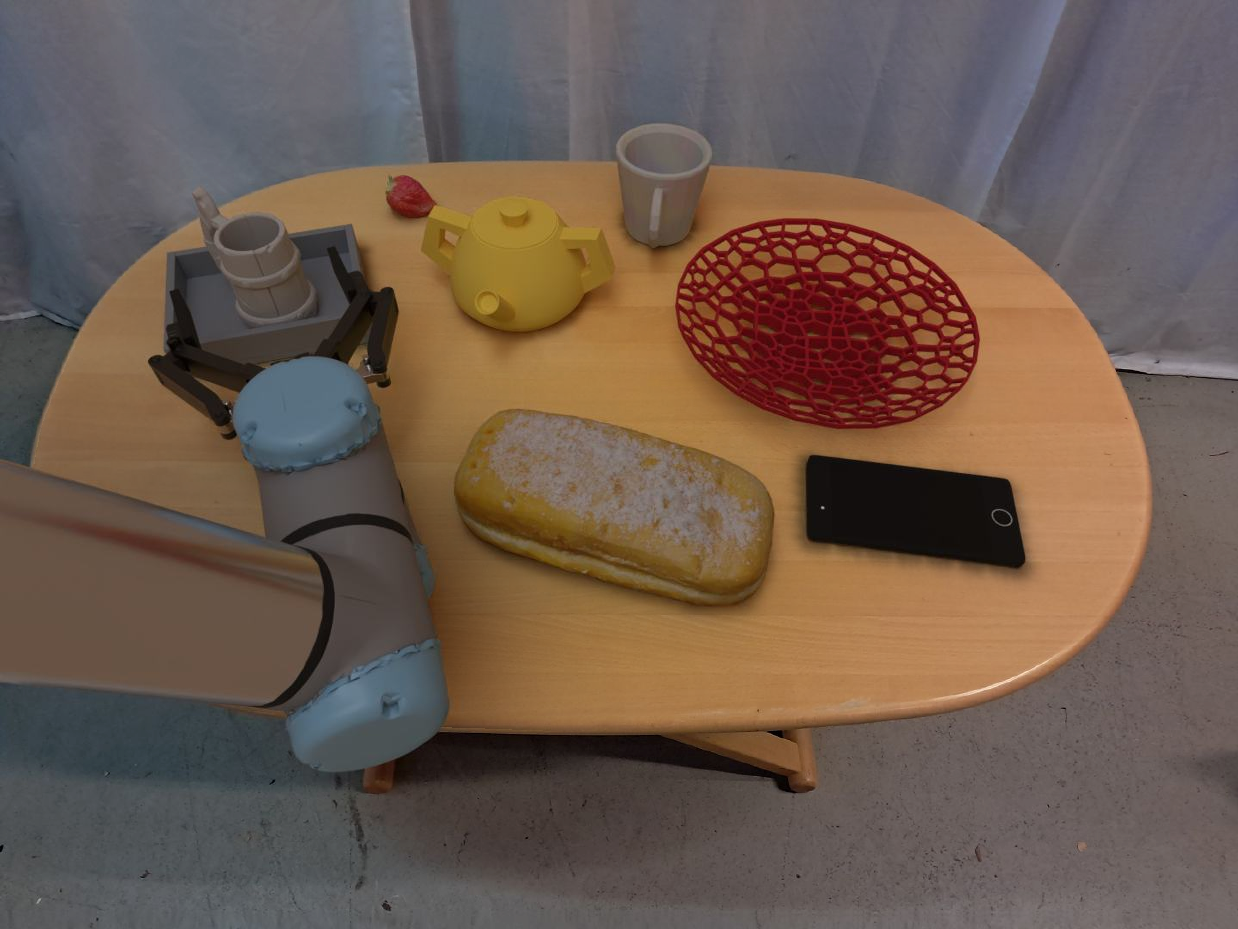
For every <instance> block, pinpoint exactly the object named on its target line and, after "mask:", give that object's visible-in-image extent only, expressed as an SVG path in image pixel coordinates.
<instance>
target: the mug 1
mask: <svg viewBox="0 0 1238 929" xmlns="http://www.w3.org/2000/svg"><path fill="white" fill-rule="evenodd" d="M191 195H192V198H193V199H194V202H195V204H196V207H197V212H198V217H199V224H200V227H201V231H202V235H203V237H204V238H203V242H204V244H205V247H207V249H208V251H209V253H210V254H211V256H212V258H213V260H214V261H215V263H216V265H217V267H218V268H219V270H220V271H221V272H222V274H223V275H224V276H225V277H226V279H227V280H229V282H230V284H231V287H232V289H233V291H234V293H235V296H236V305H235V307H236V310H237V312H238V314H239V316H240V317H241V319H242V320H243V321H244V322H245V323H247V325H248V326H249V327H250V329H253V328H259V327H264V326H270V325H276V324H281V323H287V322H292V321H298V320H304V319H309V318H314V317H315V316H316V311H317V304H316V302H317V292H316V289H315V288H314V286H313V284H312V283H311V282H310V281H309V280H308V279H307V278H306V276H305V274H304V271H303V269H302V266H301V264H300V257H301V254H300V252H299V250H298V248H297V247H296V245H295V244H294V243H293V242H292V241H291V239H290V237H289V235H288V234H289V232H288V230H287V227H286V225H285V223H284V222H283V220H281V219H280V218H278V217H277V216H276V215H274V214H271V213H268V212H260V211H259V212H257V211H256V212H255V211H254V212H247V213H246V214H244V213H241V214H238V215H234V216H232V217H230V218H228V217H226V216H224V215H223V214H221V212H220V210H219V208H218V207H217V205H216V203H215V201H214V199H213V198H212V196H211V195H210V193H209V192H208V191H207V190H206V189H205V188H204V187H203V186H201V185H200V186H198V187H196V188H195V189H193V190H192V191H191Z"/></svg>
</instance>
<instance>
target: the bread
mask: <svg viewBox="0 0 1238 929" xmlns="http://www.w3.org/2000/svg"><path fill="white" fill-rule="evenodd" d="M453 482H454V483H453V496H454V502H455V505H456V508H457V511H458V513H459V515H460V517H461V520H462V521H463V523H464V524H465V525H466V526H467V528H469V529H470V531H472V533H474V534H475V535H476V536H477V537H479V538H481V539H482V540H483V541H485V542H487V543H489V544H491V545H492V546H494V547H495V546H496V547H497V548H500V549H502V550H504V551H506V552H510V553H513V554H516V555H520V556H522V557H524V558H529V559H534V560H536V561H538V562H539V563H542V564H546V565H549V566H550V567H553V568H558V569H561V570H565V571H568V572H573V573H575V574H580V575H584V576H587V577H592V578H595V579H598V580H600V581H602V582H605V583H609V584H613V585H616V586H620V587H623V588H626V589H629V590H637V591H640V592H642V593H646V594H647V593H648V594H651V595H655V596H659V597H662V598H668V599H673V600H675V601H684V602H687V603H690V604H693V605H699V606H705V607H710V608H712V607H713V608H715V607H716V608H717V607H731V606H735V605H739V604H740V603H742V602H744V601H745V600H746V599H748V598H750V597H751V596H753V595H754V594H755V593H756V592H757V591H758V590H759V588H760V587H761V586H762V584H763V582H764V579H765V577H766V573H767V572H768V564H769V557H770V552H771V549H772V545H773V536H774V523H775V517H776V516H775V507H774V504H773V503H774V502H773V498H772V496H771V494H770V492H769V490H768V489H767V487H766V485H765V483H763V481H761V480H760V479H759V478H758V477H757V476H756V475H754V474H753V473H751V472H749V471H748V470H746V469H745V468H743V467H741V466H739V465H737V464H735V463H733V462H731V461H730V460H726V459H725V458H724V457H720V456H718V455H716V454H712V453H710V452H708V451H705V450H701V449H698V448H696V447H692V446H687V445H683V444H680V443H677V442H674V441H670V440H666V439H663V438H660V437H656V436H653V435H650V434H647V433H644V432H641V431H638V430H636V429H635V430H634V429H632V428H631V427H630V428H628V427H624V426H619V425H617V424H612V423H609V422H603V421H598V420H594V419H592V418H591V419H590V418H587V417H586V418H585V417H581V416H577V415H569V414H561V413H553V412H548V411H541V410H535V409H524V408H508V409H504V410H499V411H497V412H496V413H494V414H493V415H491V416H490V417H489V418H488V419H487V420H486V421H485V422H483V423H482V424H481V425H480V426H479V427H478V429H477V431H476V432H475V434H474V435H473V437H472V438H471V439H470V442H469V445H468V447H467V449H466V451H465V454H464V456H463V457H462V460H461V462H460V463H459V465H458V468H457V470H456V472H455V474H454V481H453Z"/></svg>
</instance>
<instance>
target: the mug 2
mask: <svg viewBox="0 0 1238 929" xmlns="http://www.w3.org/2000/svg"><path fill="white" fill-rule="evenodd" d="M713 156H714V155H713V150H712V145H711V144H710V142H709V141H708V140H707V138H705V136H703V135H702V134H700V133H698V132H697V131H695V130H694V129H691V128H688V127H686V126H683V125H678V124H674V123H673V124H672V123H662V122H661V123H658V122H657V123H656V122H655V123H654V122H653V123H648V124H642V125H638V126H636V127H633V128H631V129H628V130H627V131H626V132H625V133H623V134H622V135H621V136H620V137H619V139H618V140H617V143H616V146H615V157H616V165H617V173H618V181H619V187H620V195H621V203H622V211H623V218H624V225H625V229H626V231H627V232H628V234H629V236H630V237H632V238H633V239H634V240H635V241H638V242H639V243H641V244H644V245H648V246H649V247H650V248H652V249H655V248H657V247H667V246H673V245H676V244H677V243H680V242H682V241H683V240H685V238H686V237H687V236H688V235H689V233H690V231H691V229H692V225H693V222H694V219H695V215H696V213H697V208H698V206H699V203H700V199H701V195H702V193H703V189H704V185H705V183H706V179H707V177H708V173H709V170H710V167H711V163H712V160H713Z"/></svg>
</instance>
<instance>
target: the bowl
mask: <svg viewBox="0 0 1238 929" xmlns="http://www.w3.org/2000/svg"><path fill="white" fill-rule="evenodd" d="M779 226H781V227H780V228H781V229H780V230H775V231H768V230H767V229H766V228H772V227H779ZM786 226H806V227H805V228H806V229H805V230H802V231H798V232H793V231H788V230H786ZM811 226H818V227H822V229H823V231H824V232H825V233H826V235H825V236H823V235H818V234H815V233H814V232H813V231H811V230H810V229H811ZM832 229H835V230H842V231H843V233H841V232H837V231H833V230H832ZM756 230H759V231H760V233H761V235H759V236H758V237H754V236H753V237H752V236H744V235H743V234H744V233H748V232H751V231H756ZM849 233H854V234H858V235H860V236H864V237H868V238H871V239H870V242H861V241H857V240H855V239H853V238H852V237H850V236H848V234H849ZM735 236H736V238H737V239H736V240H734V239H733V237H735ZM805 237H808V238H805ZM772 239H773V240H772ZM774 239H778V240H774ZM786 239H790V240H795V241H796V242H795V243H794V244H793V243H790V242H789V241H787V240H786ZM876 240H877V241H879V242H881V243H883V244H886V245H888V246H890V247H892V248H894V250H893V251H885V250H881V249H879V247H877V246H875V245H874V244H875V241H876ZM725 241H726V242H727V243H728V245H729V246H730V247H729V248H728V250H717V249H716V247H717V246H719V245H722V243H724V242H725ZM764 241H765V243H766V244H765V245H764V244H761V243H762V242H764ZM842 242H843V243H846V244H849V245H850V246H853V247H854V249H855V250H853V251H851V252H849V253H848V252H846V251H844V250H842V249H840V248H839V247H838V245H839V244H841V243H842ZM740 244H747V245H754V246H755V247H754V248H753V249H752V250H744V249H742V248H741V247H740V246H739V245H740ZM824 245H830V246H831V247H832V248H827V249H825V247H824ZM780 246H781V247H783V248H784V249H786V250H787V251H789V252H790V254H791V256H785V255H784V256H783V255H778V254H777V252H776V251H775V250H774V249H776V248H778V247H780ZM809 246H810V247H813V248H816V249H817V250H818V251H819V253H818V254H817V255H816V256H815V257H814V258H813V259H806V258H799V257H798V255H797V254H798V253H797V250H798V249H799V248H800V247H809ZM899 251H901V252H904V253H905V254H906V255H904V254H902V253H898V252H899ZM708 252H709V253H711V254H713V255H714V256H715V257H716V260H714V261H713V262H712V261H711V260H710V259H709V258H708V257H707V255H706V253H708ZM733 252H735V253H736V254H738V255H739V257H740V258H741V261H740V263H739V264H738V265H737V266H734V264H732V263H731V261H730V260H729V256H730V255H731V254H732V253H733ZM758 253H768V254H769V255H770V257H771V260H769V261H768V262H765V261H764V260H761V259H758V258H756V257H755V255H756V254H758ZM829 256H839V257H840V258H842V259H844V260H846V261H847V262H848V263H849V265H850V267H849V268H847V270H844V271H843V272H838V271H837V272H835V271H822V270H821V269H820V268H819V266H818V265H817V264H818V263H820V261H821V260H822V259H823V258H824V257H829ZM858 256H860V257H861V256H862V257H867V258H868V259H869V260H870V261H871V262H872V263H871V265H870V267H869V266H865V265H860V264H857V262H856V261H855V258H856V257H858ZM911 257H912V258H914V259H915V260H917V261H918V262H920V263H921V264H923V265H924V266H926V267H927V268H928V270H927V273H926V272H924V271H921V270H919V269H916V268H915V267H914V265H913V263H912V262H911V260H910V258H911ZM700 259H701V260H702V262H703V263H704V264H705V266H706V267H707V268H706V269H704V268H701V267H700V266H699V264H698V261H699V260H700ZM893 260H894V261H897V262H901V263H903V264H904V266H905V269H907V271H908V272H907V273H906V274H904V273H899V272H895V271H894V269H893V267H892V264H891V263H892V261H893ZM776 264H778V265H779V264H780V265H785V266H789V267H793V268H794V272H795V273H792V274H789V275H786V276H775V275H774V276H772V275H770V270H769V269H771V268H772V267H774V266H775V265H776ZM877 265H880V266H883V267H884V268H885V270H886V271H887V274H888V275H885V276H884V277H882V276H881V275H880V273H879V272H878V271H877V270H876V269H875V268H876V266H877ZM718 266H723V267H727V268H728V271H730V272H729V273H727V274H725V275H724V274H723V273H722V272H721V271H720V270H719V269H718V268H717V267H718ZM751 266H753V267H755V268H758V269H759V270H761V271H763V277H762V276H761V277H759V278H755V279H752V280H750V279H749V278H747V277H746V275H744V274H743V273H742V272H741V269H742V268H745V267H751ZM802 268H805V269H810V270H811V271H803V269H802ZM932 272H933V273H934V274H935V275H936V276H937V277H938V278H940V280H942V281H941V282H940V281H938V280H937V278H934V277H933V276H932V275H931V274H932ZM710 273H712V274H713V275H714V276H715V277H716V278H717V279H718V282H717V283H716V284H715V285H712V284H711V283H710V282H709V281H708V280H707V275H709V274H710ZM854 273H856V274H863V275H869V277H870V278H871V279H872V281H873V282H875V283H873V284H872V285H870V286H867V285H864V284H860V283H858V282H855V281H854V280H853V279H852V278H851V277H850V276H852V275H853V274H854ZM688 274H689V275H690V278H691V281H690V282H689V283H688V282H685V280H686V278H687V276H688ZM696 274H699V275H701V276H702V280H701V281H700V282H699V281H698V280H696V279H695V275H696ZM911 277H915V278H916V279H919V280H921V281H923V282H922V283H917V284H914V283H913V281H912V280H911V279H910V278H911ZM733 279H736V280H737V281H738V282H739V283H740V285H739V286H737V285H736V284H735V283H734V282H732V280H733ZM890 280H893V281H897V282H902V283H903V284H904V286H905V288H902V289H898V290H895V289H894V287H893V286H891V285H890V284H889V283H888V282H890ZM812 282H817V283H812ZM829 282H830V283H829ZM831 282H833V283H835V282H836V283H841V284H842V285H843V286H838V287H837V286H835V285H834V284H831ZM797 283H799V286H800V288H794V289H793V288H790V287H789V286H791V285H794V284H797ZM927 283H928V285H929V286H928V285H927ZM724 286H725V287H726V288H727V289H728V290H729V291H730V292H731V293H732V294H731V295H722V294H721V293H720V289H722V288H723V287H724ZM763 287H766V288H767V290H759V289H760V288H763ZM948 287H949V288H950V289H949V288H948ZM704 288H706V289H707V290H708V291H707V292H706V293H703V292H702V291H700V290H701V289H704ZM758 288H759V289H758ZM879 289H880V290H881V291H882V292H883V293H885V294H881V293H879V292H878V291H879ZM681 290H688V291H689V292H690V293H692V295H690V294H687V293H683V292H681ZM937 291H938V292H940V293H942V294H943V296H940V295H939V296H938V294H937V293H936V292H937ZM747 292H749V294H750V295H751V296H752V298H750V297H748V296H746V295H745V294H744V293H747ZM821 293H824V294H821ZM909 294H912V295H915V296H917V297H919V298H921V299H922V301H923V302H924V304H925V305H926V306H925V307H922V308H921V309H916V308H913V307H910V306H907V304H906V302H905V301H904V300H903V298H902V297H905V296H908V295H909ZM777 295H782V296H783V297H781V298H780V297H777ZM675 296H676V297H675V302H674V303H675V304H674V308H675V314H676V315H675V316H676V321H677V327H678V330H679V332H680V335H681V338H682V340H683V341H684V342H685V344H686V346H687V348H688V349H689V351H690V353H691V354H692V356H693V358H694V359H695V360H696V361H697V363H698V364H699V365H700V366H701V367H702V368H703V369H704V370H705V371H706V373H707V374H708V375H709V376H710V377H711V378H712V379H714V380H715V381H716V382H718V383H719V384H720V385H722V386H723V387H724V388H725V389H726V390H728V391H729V392H730V393H732V394H733V395H734V396H736V397H739V398H740V399H742V400H744V401H745V402H747V403H749V404H751V405H753V406H755V407H757V408H759V409H760V410H762V411H765V412H768V413H771V414H774V415H777V416H779V417H782V418H785V419H787V420H791V421H794V422H797V423H801V424H803V423H804V424H808V425H814V426H819V427H823V428H828V429H834V430H863V429H864V430H871V429H873V430H875V429H876V430H877V429H882V428H887V427H892V426H896V425H901V424H906V423H911V422H913V421H915V420H917V419H920V418H921V417H924V416H925V415H927V414H930V413H932V412H933V411H936V410H937V409H939V408H942V407H943V406H944V405H945V404H946V403H948V402H949V401H950V400H951V399H952V398H954V396H956V395H957V394H958V393H959V392H961V390H962V389H963V387H964V386H965V385H966V383H968V382H969V379H970V378H971V376H972V373H973V371H974V370H975V367H976V365H977V362H978V357H979V350H980V342H981V336H980V332H979V326H978V321H977V316H976V314H975V313H974V311H973V309H972V308H971V306H970V304H969V303H968V300H967V299H966V297H965V296H964V294H963V292H962V291H961V289H960V288H959V286H958V284H957V282H956V281H954V280H953V279H952V278H951V277H950V276H949V275H948V274H947V273H946V272H945V271H944V270H943V269H942V268H941V267H940V266H939V265H938V264H937V263H936V262H934V261H933V260H931V259H930V258H928V257H927V256H925V255H924V254H923V253H921V252H919V251H918V250H916V249H915V248H913V247H912V246H910V245H908V244H906V243H903V242H901V241H899V240H896V239H895V238H892V237H890V236H887V235H885V234H883V233H880V232H878V231H874V230H872V229H868V228H865V227H861V226H858V225H854V224H851V223H846V222H841V221H840V222H839V221H834V220H827V219H822V218H814V217H813V218H809V217H807V218H805V217H804V218H801V217H799V218H797V217H796V218H795V217H783V218H775V219H768V220H760V221H757V222H754V223H750V224H747V225H743V226H740V227H737V228H734V229H731V230H729V231H728V232H726V233H724V234H723V235H721V236H719V237H718V238H715V239H714V240H713V241H711V242H709V243H708V244H706V245H704V246H703V247H701V248H700V249H699V250H698V251H697V252H696V253H695V255H694V256H693V257H692V258H691V259H690V260H689V261H688V263H687V265H686V266H685V268H684V270H683V273H682V275H681V277H680V279H679V281H678V283H677V288H676V295H675ZM950 296H955V297H956V299H957V300H958V302H959V304H960V305H956V304H955V303H954V302H952V301H951V300H950V299H949V297H950ZM712 297H714V298H715V300H717V301H718V303H716V302H715V301H713V300H712V299H711V298H712ZM845 298H848V299H845ZM865 298H868V299H870V300H872V301H874V302H875V303H876V306H875V307H873V308H871V309H867V310H866V309H864V307H861V306H860V305H859V304H858V303H857V302H859V301H861V300H863V299H865ZM849 299H850V300H849ZM679 300H682V301H685V302H689V303H691V306H692V308H689V309H688V308H686V307H685V306H684V305H682V304H681V303H680V302H679ZM892 301H893V303H894V305H895V306H896V308H897V309H898V310H899V312H900V314H899V315H894V314H893V315H891V314H887V313H886V312H885V311H884V310H883V309H882V308H881V305H883V304H886V303H889V302H892ZM764 302H766V303H764ZM696 303H698V304H699V303H705V304H706V305H707V306H708V307H709V308H711V309H712V311H713V312H714V313H715V314H714V318H713V319H711V318H707V317H704V316H702V315H701V313H700V312H699V311H698V310H697V306H696V305H697V304H696ZM727 304H729V305H730V304H731V305H733V306H734V307H736V309H737V311H736V312H734V313H733V312H731V311H729V310H727V309H725V308H723V307H722V306H723V305H727ZM939 304H943V305H944V306H945V307H946V308H945V307H942V306H941V305H939ZM812 306H815V307H817V308H818V307H819V308H820V309H814V308H812ZM743 307H744V308H746V309H744V308H743ZM821 309H824V310H821ZM928 311H932V312H934V313H936V314H939V315H941V319H942V320H943V322H941V323H939V324H933V323H930V322H926V321H925V320H924V316H923V314H924V313H926V312H928ZM952 312H953V313H959V314H965V315H966V316H967V318H968V319H966V320H963V321H961V320H960V321H959V320H957V319H951V318H949V315H948V314H949V313H952ZM681 313H682V314H684V315H685V316H686V317H687V319H688V320H689V322H690V324H689V326H688V325H686V324H684V323H683V322H682V318H681ZM693 315H694V316H695V317H696V319H698V320H699V322H700V323H699V322H696V321H695V320H694V318H693ZM904 316H909V317H913V318H916V323H914V324H912V325H910V326H909V325H908V324H907V323H906V320H905V319H904ZM719 317H722V318H724V319H725V320H727V321H729V322H730V323H732V325H733V326H734V329H735V330H736V331H737V335H730V336H729V335H728V336H727V335H726V334H725V332H724V331H723V329H722V327H721V326H720V324H719V322H718V321H719ZM873 319H875V320H877V321H873ZM742 320H743V321H745V322H747V323H750V324H752V327H751V326H745V325H743V324H742V323H741V321H742ZM706 326H707V327H710V328H713V329H714V331H715V332H716V334H717V336H714V335H713V333H711V331H709V329H708V328H707V327H706ZM759 326H763V327H769V328H771V329H772V330H773V331H775V332H773V333H770V332H767V331H765V330H762V329H760V328H759ZM893 326H896V327H895V328H894V327H893ZM946 326H947V327H951V328H956V329H960V331H959V332H957V333H955V334H954V335H945V333H944V332H943V330H942V329H943V328H945V327H946ZM968 326H970V327H968ZM694 329H696V330H698V331H701V332H702V333H703V334H704V335H705V337H707V338H708V339H709V340H710V342H711V345H708V344H705V343H703V342H701V341H700V340H699V339H698V337H697V336H696V334H695V333H694V331H693V330H694ZM919 330H921V331H922V330H923V331H926V332H931V333H934V334H936V335H937V337H938V339H939V341H938V342H937V344H927V343H918V342H917V340H916V338H915V336H914V334H913V333H915V332H917V331H919ZM809 333H813V334H816V335H808V334H809ZM854 334H867V335H868V338H866V339H864V338H857V337H852V335H854ZM964 335H972V338H973V339H972V340H969V341H968V342H966V343H964V344H963V343H956V341H957V340H958V339H960V338H961V337H962V336H964ZM850 336H851V337H850ZM743 337H745V338H748V339H751V341H749V342H748V341H746V340H745V339H744V338H743ZM890 338H891V339H892V338H903V339H904V340H905V343H906V344H907V346H904V347H902V346H901V347H900V346H895V345H890V344H888V342H887V341H886V340H887V339H890ZM716 345H722V346H724V347H725V349H726V351H727V352H728V353H729V354H724V352H721V351H720V350H718V349H717V348H716ZM734 345H736V346H738V347H739V348H740V349H742V350H743V351H744V352H746V354H747V356H748V358H747V357H744V356H741V355H739V353H738V352H737V351H736V348H735V347H734ZM694 346H695V347H697V349H698V350H699V352H700V353H698V352H697V351H696V349H695V347H694ZM874 347H875V348H876V349H877V350H878V351H877V350H874V349H872V348H874ZM971 347H973V351H972V356H967V355H966V353H964V351H965V350H967V349H969V348H971ZM815 349H816V350H815ZM817 349H821V350H819V351H818V350H817ZM941 352H949V354H948V355H941ZM918 353H934V356H932V357H929V358H923V357H922V356H920V355H918ZM709 354H711V355H712V356H710V355H709ZM886 356H891V357H895V358H896V357H897V358H898V360H897V361H895V362H883V361H882V359H883V358H884V357H886ZM953 357H958V358H959V359H961V360H962V361H951V360H950V359H951V358H953ZM824 359H825V360H824ZM826 360H828V361H826ZM829 361H830V362H829ZM910 362H913V363H914V364H916V365H917V368H913V369H907V370H902V369H901V368H900V366H902V365H903V364H905V363H910ZM730 363H732V364H737V365H738V366H739V367H740V369H742V370H743V371H745V372H743V371H741V370H738V369H737V368H734V367H732V365H731V364H730ZM869 363H872V364H869ZM708 364H709V365H710V366H709V365H708ZM933 364H938V365H939V366H941V367H943V369H942V370H941V372H940V373H937V374H936V373H935V374H929V373H927V372H925V371H924V370H923V367H925V366H929V365H933ZM968 364H971V365H968ZM712 368H713V369H712ZM948 369H960V370H962V371H964V372H965V373H967V374H966V376H964V377H958V378H952V377H950V376H949V375H948V374H947V373H946V372H947V370H948ZM889 373H890V374H891V375H890V376H888V377H886V376H885V375H883V374H889ZM911 377H915V378H916V379H919V380H920V381H922V384H920V385H918V386H915V387H912V388H911V387H902V386H901V387H900V386H895V385H894V384H893V383H894V382H896V381H897V380H900V379H905V378H911ZM752 380H755V381H757V382H758V383H759V384H761V385H762V386H764V387H762V386H760V385H758V384H756V383H754V382H753V381H752ZM935 380H941V381H942V382H943V383H945V384H946V385H944V386H943V387H933V388H929V387H928V386H927V383H928V382H932V381H935ZM815 381H820V382H821V383H822V384H816V382H815ZM955 384H959V385H955ZM952 385H954V386H952ZM765 387H766V388H765ZM775 388H777V389H778V388H779V389H783V390H786V391H787V392H790V393H792V394H795V395H798V396H800V397H803V398H804V399H798V398H791V397H789V396H787V395H784V394H782V393H780V392H777V391H776V389H775ZM882 389H884V390H882ZM943 394H947V395H946V397H944V398H943V399H939V397H940V396H942V395H943ZM891 395H902V396H903V395H904V396H910V397H907V398H905V399H892V398H891V397H889V396H891ZM929 395H932V396H929ZM839 396H841V397H845V398H841V397H839ZM815 400H823V401H826V402H828V403H825V402H820V401H815ZM874 401H878V402H880V403H882V404H883V405H877V406H876V405H875V406H872V405H868V404H865V403H868V402H874ZM916 401H921V403H919V404H917V405H910V404H912V403H914V402H916ZM930 404H931V406H930V407H928V408H925V409H924V410H922V408H924V407H926V406H928V405H930ZM790 405H791V406H798V407H804V408H810V409H811V410H812V411H807V410H801V409H797V408H793V407H791V406H790ZM852 405H856V406H852ZM845 406H852V407H845ZM894 406H897V407H894ZM892 407H894V408H892ZM862 411H863V412H862ZM902 411H903V412H906V411H907V412H915V414H913V415H909V416H907V417H906V416H898V415H893V414H895V413H899V412H902ZM866 412H867V413H866ZM836 413H842V414H849V415H851V416H853V417H841V416H840V415H838V414H836Z"/></svg>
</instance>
